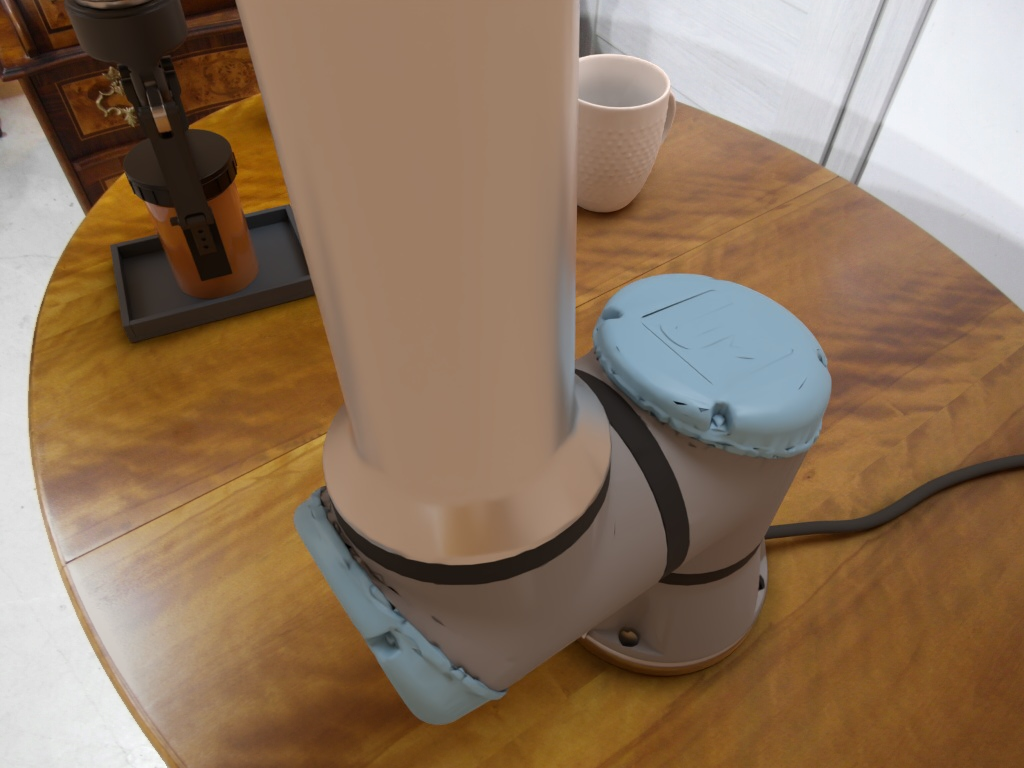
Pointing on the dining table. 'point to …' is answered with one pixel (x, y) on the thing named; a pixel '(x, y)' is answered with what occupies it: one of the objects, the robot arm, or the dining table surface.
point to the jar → (234, 241)
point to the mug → (619, 127)
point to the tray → (166, 308)
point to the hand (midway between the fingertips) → (208, 246)
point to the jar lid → (208, 157)
